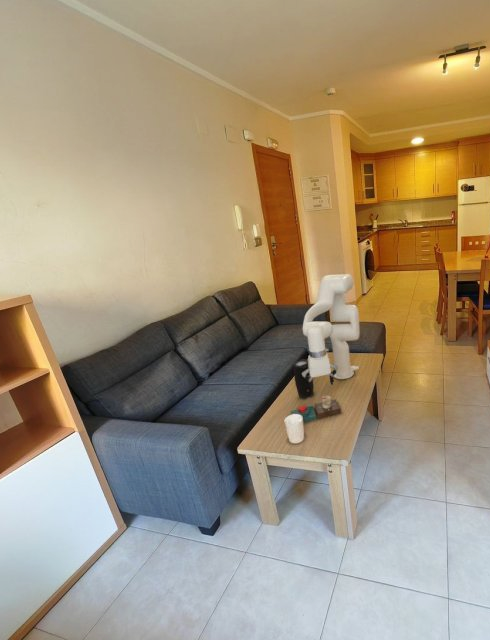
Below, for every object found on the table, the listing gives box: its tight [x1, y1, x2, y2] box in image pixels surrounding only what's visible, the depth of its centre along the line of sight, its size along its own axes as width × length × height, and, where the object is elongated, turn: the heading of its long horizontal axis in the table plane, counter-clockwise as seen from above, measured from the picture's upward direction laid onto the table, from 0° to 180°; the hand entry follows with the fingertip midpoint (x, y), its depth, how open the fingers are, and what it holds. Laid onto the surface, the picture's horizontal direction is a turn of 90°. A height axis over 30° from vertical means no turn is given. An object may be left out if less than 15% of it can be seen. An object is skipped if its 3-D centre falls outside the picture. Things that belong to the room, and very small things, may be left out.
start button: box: [298, 405, 306, 413], centre depth 163 cm, size 4×4×2 cm
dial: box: [321, 395, 332, 408], centre depth 165 cm, size 4×4×5 cm
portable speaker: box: [293, 358, 314, 400], centre depth 181 cm, size 9×9×20 cm
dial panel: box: [313, 398, 342, 420], centre depth 167 cm, size 11×9×3 cm
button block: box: [290, 405, 317, 424], centre depth 164 cm, size 11×9×4 cm
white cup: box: [284, 414, 305, 444], centre depth 148 cm, size 8×8×10 cm
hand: (321, 385), depth 162 cm, fingers open, 9 cm apart
